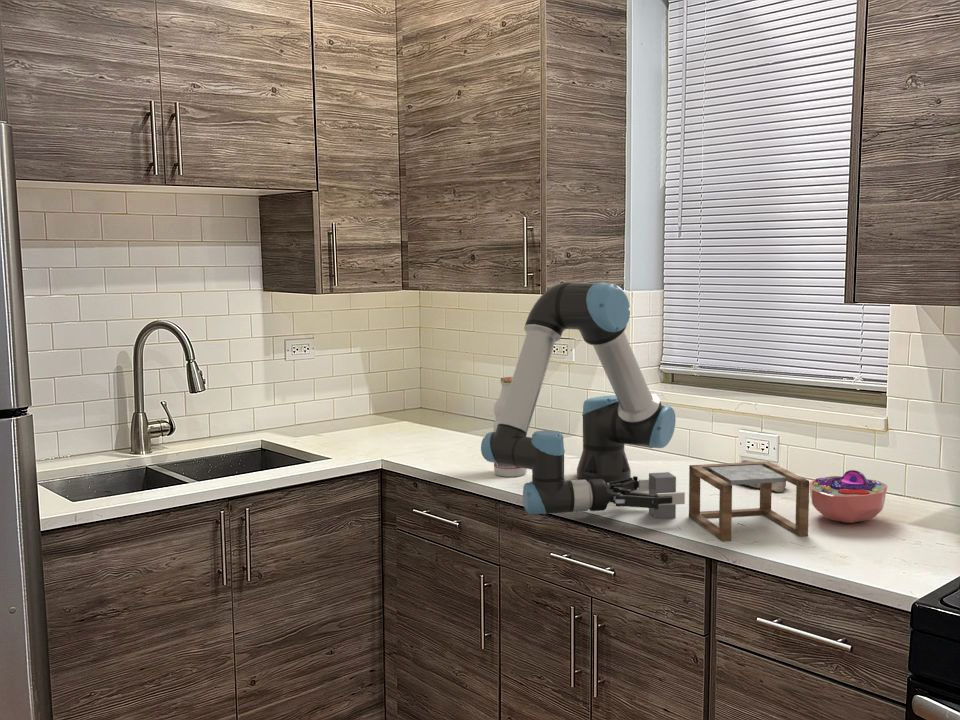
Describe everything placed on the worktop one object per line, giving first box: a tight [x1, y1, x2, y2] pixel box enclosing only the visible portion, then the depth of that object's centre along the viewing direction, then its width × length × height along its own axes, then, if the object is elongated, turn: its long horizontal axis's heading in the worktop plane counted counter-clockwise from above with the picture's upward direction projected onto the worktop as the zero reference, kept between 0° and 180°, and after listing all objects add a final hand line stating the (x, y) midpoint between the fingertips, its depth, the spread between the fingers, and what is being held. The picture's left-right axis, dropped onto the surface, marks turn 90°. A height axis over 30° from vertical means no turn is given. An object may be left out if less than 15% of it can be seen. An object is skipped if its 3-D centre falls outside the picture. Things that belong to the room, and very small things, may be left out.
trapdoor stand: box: [688, 460, 810, 542], centre depth 215 cm, size 20×20×12 cm
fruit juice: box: [493, 376, 528, 478], centre depth 268 cm, size 9×9×28 cm
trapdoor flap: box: [705, 465, 787, 486], centre depth 215 cm, size 14×14×1 cm
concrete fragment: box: [739, 459, 787, 493], centre depth 251 cm, size 8×16×7 cm, turn 38°
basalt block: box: [648, 471, 677, 520], centre depth 224 cm, size 5×5×10 cm
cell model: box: [809, 469, 888, 524], centre depth 219 cm, size 17×20×11 cm
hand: (674, 490), depth 225 cm, fingers open, 13 cm apart
